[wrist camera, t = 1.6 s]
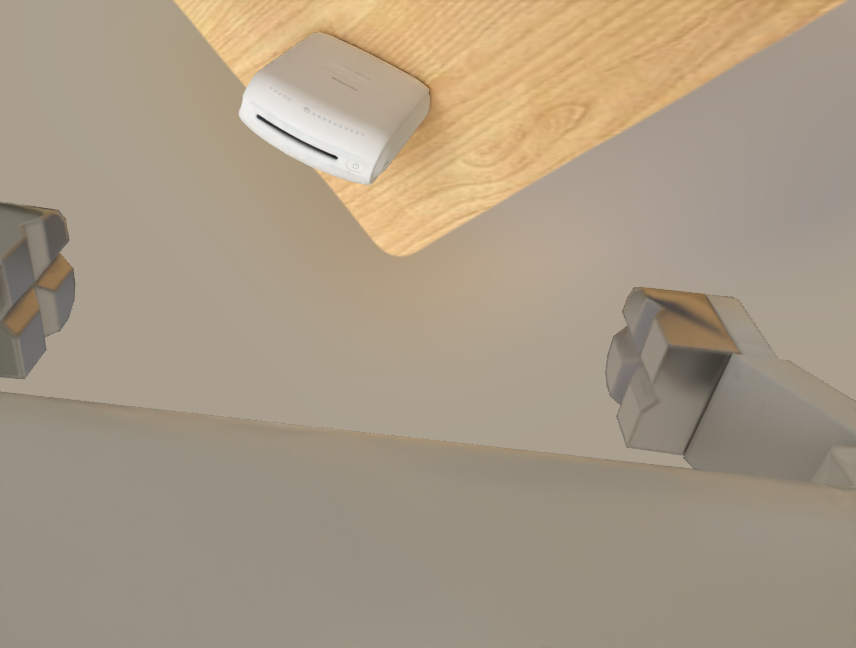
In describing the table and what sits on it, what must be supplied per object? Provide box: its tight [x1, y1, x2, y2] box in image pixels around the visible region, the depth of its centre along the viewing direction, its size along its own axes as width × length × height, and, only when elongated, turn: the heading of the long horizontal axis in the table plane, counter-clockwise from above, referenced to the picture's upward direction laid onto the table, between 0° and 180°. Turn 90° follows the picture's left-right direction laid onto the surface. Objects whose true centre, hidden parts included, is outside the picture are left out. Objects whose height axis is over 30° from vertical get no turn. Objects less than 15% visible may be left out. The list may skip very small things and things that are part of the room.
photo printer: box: [239, 32, 430, 185], centre depth 50 cm, size 10×4×12 cm, turn 68°
